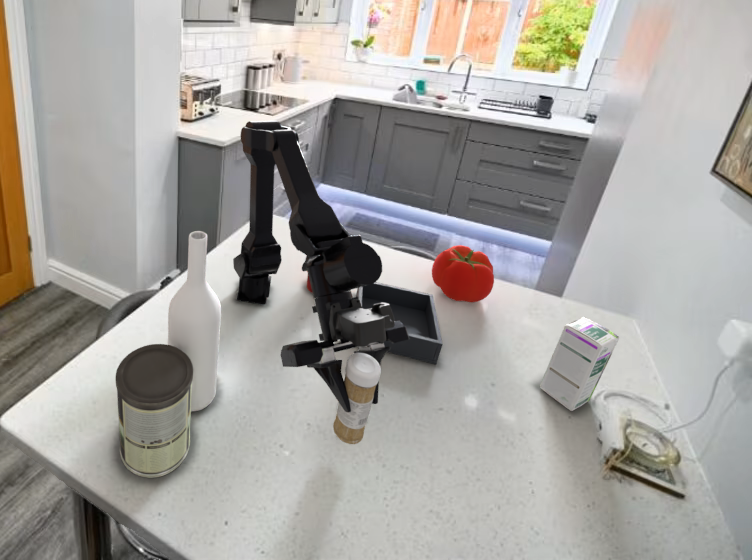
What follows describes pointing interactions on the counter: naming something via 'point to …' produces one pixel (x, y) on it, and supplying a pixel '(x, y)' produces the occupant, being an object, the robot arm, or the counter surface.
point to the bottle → (197, 323)
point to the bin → (408, 319)
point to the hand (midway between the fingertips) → (361, 407)
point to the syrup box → (578, 362)
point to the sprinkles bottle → (357, 397)
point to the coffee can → (154, 409)
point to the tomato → (463, 274)
